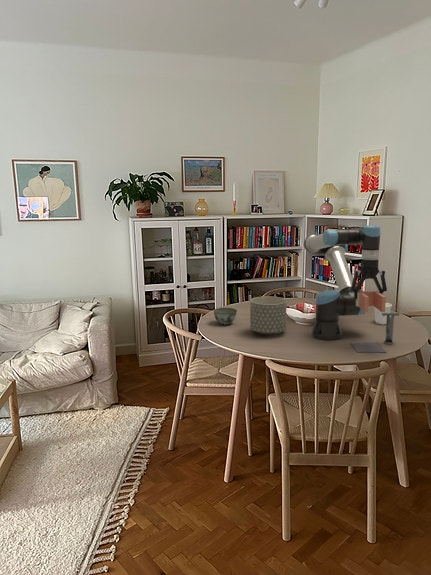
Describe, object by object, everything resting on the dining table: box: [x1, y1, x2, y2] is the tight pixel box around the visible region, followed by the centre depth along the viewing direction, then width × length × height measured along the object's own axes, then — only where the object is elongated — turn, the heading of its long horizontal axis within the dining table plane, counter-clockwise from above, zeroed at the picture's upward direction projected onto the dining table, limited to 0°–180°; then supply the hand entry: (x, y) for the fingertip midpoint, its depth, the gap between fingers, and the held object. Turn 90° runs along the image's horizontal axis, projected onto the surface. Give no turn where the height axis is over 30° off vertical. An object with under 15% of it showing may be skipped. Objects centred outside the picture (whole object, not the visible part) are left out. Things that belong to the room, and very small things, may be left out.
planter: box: [249, 295, 288, 336], centre depth 223 cm, size 19×19×18 cm
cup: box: [373, 302, 393, 325], centre depth 238 cm, size 10×10×11 cm
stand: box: [382, 312, 400, 345], centre depth 204 cm, size 8×4×15 cm, turn 86°
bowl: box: [213, 307, 238, 326], centre depth 244 cm, size 14×13×8 cm
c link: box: [358, 290, 387, 313], centre depth 195 cm, size 9×13×7 cm
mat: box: [350, 341, 387, 354], centre depth 199 cm, size 13×13×1 cm
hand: (367, 305), depth 200 cm, fingers closed on c link, 9 cm apart
